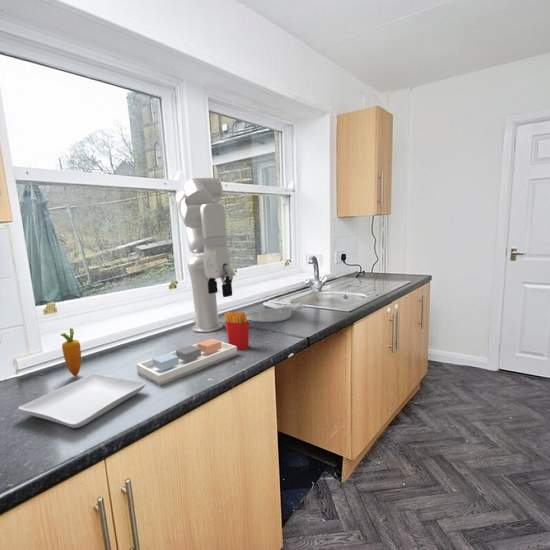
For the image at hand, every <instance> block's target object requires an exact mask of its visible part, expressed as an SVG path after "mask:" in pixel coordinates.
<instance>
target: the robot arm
mask: <svg viewBox="0 0 550 550" xmlns="http://www.w3.org/2000/svg"><path fill="white" fill-rule="evenodd" d="M223 190H224V189H223V185H222V182H221V181H220V180H219V179H218V178H217V177H193V178H191V179H189V180H188V181H186V183H185V184H184V190H180V191H178V192H177V193H176V196H175V202H176V208H177V210H178V213H179V215H180V216H181V219H182V221H183V224H184V226H185V231H186V239H187V240H186V241H187V244H188V245H187V246H188V248H189V249H188V250H189V251H190V253H192V254H195V256H192V257H190V258H189V259H188V262H187V269H188V273H189V277H190V282H191V289H192V296H193V297H192V298H193V307H194V314H195V315H194V316H195V318H193V319H192V321H193V322H194V323H195V325H193V326H192V330H193V331H194V332H196V333H209V332H211V333H212V332H214V331H218V330H220V329H222V328H223V323H221V322H219V315H218V314H219V313H218V304H217V302H218V301H217V295H216V294H217V293H218V283H217V282H218V281H217V280H218V279H220V280H221V282H222V284H221V290H222V297H223V298H228V297H233V288H232V287H233V286H232V285H233V275H234V270H233V269H232V268H231V261H230V256H229V249H228V237H227V225H226V224H227V223H226V221H227V220H226V216H227V215H226V210H225V206H224V205H223V204H222V203H220V202H221V200H222V197H223ZM197 254H201V255H197ZM202 254H203V255H202Z"/></svg>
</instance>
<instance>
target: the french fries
mask: <svg viewBox="0 0 550 550" xmlns="http://www.w3.org/2000/svg"><path fill="white" fill-rule="evenodd" d="M223 315H224V318H225V321H224V323H225V328H226V333H227V334H226V335H227V341H228V344H231V345H234V346H237V351H238V350H239V351H242V350H243V351H244V350H246V349H248V348H249V333H250V332H249V330H250V327H249V325H250V323H249V321H250V320H247V315H246V313H245V312H244V311H243V312H242V311H239V312H238V311H233V312H231V311H225V312H224V313H223Z"/></svg>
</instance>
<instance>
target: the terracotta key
mask: <svg viewBox="0 0 550 550" xmlns="http://www.w3.org/2000/svg"><path fill="white" fill-rule="evenodd" d="M213 339H214V338H209V339H207V340H204V341H200V342H197V343H196V344H197V346H198V348H200V349H201V352H204V353H207V354H208V353H211V352H214V351H216V350H219V349H221V342H222V341H221V340H218V341H217V339H214V340H213ZM220 341H221V342H220Z"/></svg>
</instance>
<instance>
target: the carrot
mask: <svg viewBox="0 0 550 550" xmlns="http://www.w3.org/2000/svg"><path fill="white" fill-rule="evenodd" d="M74 334H75V332H74V328H71V327H70V328H69V334H67V333H66V332H63V333H60V336H61V337H63V338H64V339H65V340H66V341H64V342H63V343H62V344H61V349H62V354H63V357H64V358H63V359H64V361H65V364H66V366H67V369H68V371H69V372H70V374H71V375H72V376H73V377H78V375H79V373H80V369H81V365H82V364H81V362H82V352H81V351H82V350H81V344H80V341H79V340H78V339H74Z"/></svg>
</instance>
